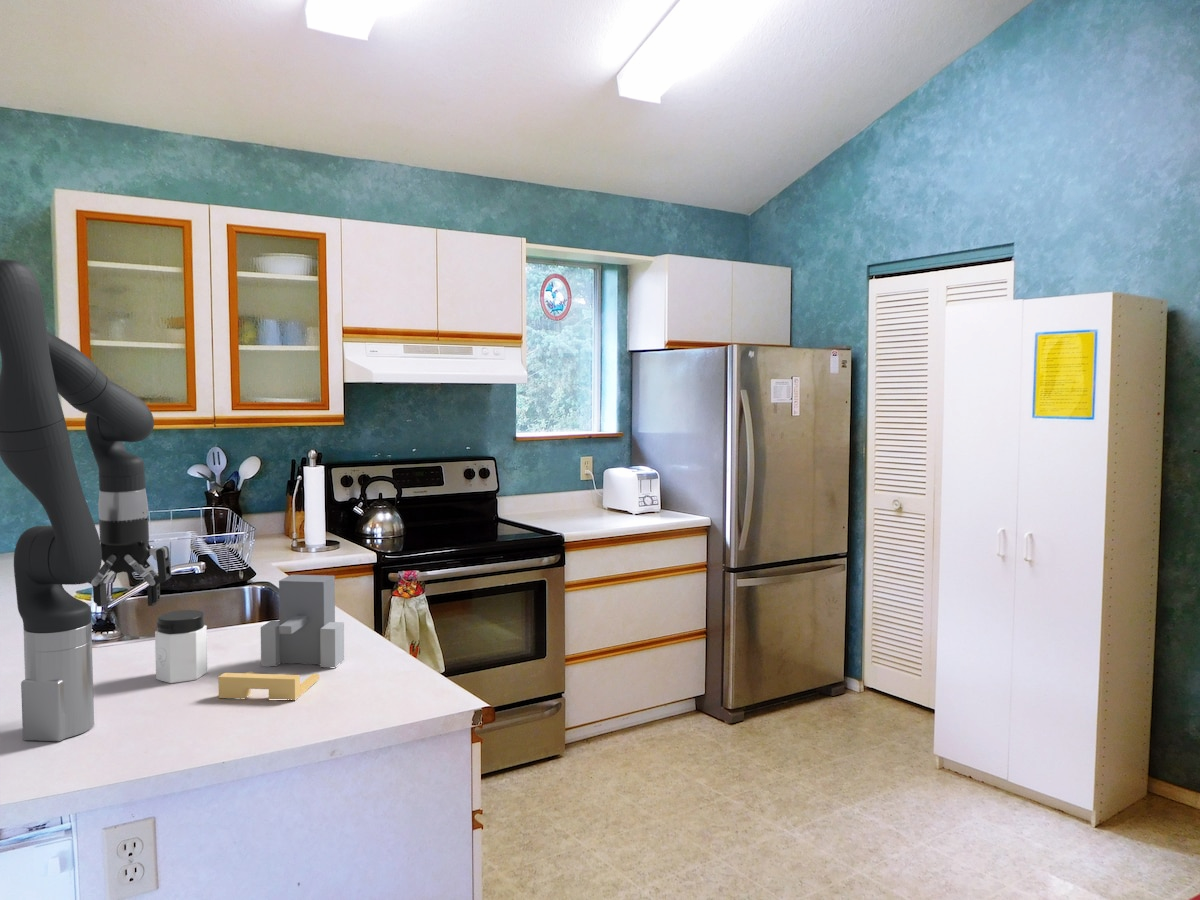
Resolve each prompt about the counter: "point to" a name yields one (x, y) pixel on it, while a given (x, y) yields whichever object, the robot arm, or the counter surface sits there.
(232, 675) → the tan u-shaped bracket
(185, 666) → the jar
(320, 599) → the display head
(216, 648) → the counter surface
